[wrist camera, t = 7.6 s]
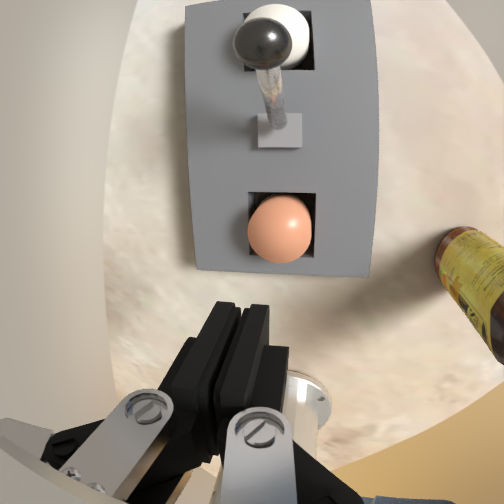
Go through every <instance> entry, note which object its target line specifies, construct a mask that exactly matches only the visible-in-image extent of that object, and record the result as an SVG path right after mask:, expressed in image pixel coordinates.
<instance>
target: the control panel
mask: <svg viewBox="0 0 504 504" xmlns="http://www.w3.org/2000/svg"><path fill="white" fill-rule="evenodd" d="M269 4H282V5H286V6H289V7H292V8H294V9H296V10H297V11H298V12H300V13H301V14H302V15H303V16H304V18H305V19H306V21H307V23H308V24H311V30H312V46H313V65H314V70H281V77H282V83H283V91H284V98H285V105H286V113H287V121H288V122H287V125H286V127H285V128H284V129H282V130H274V129H273V128H271V127H270V125H269V122H268V118H267V113H266V109H265V105H264V101H263V97H262V93H261V89H260V85H259V81H258V77H257V74H256V71H251V68H250V67H248V66H246V65H244V64H243V63H242V62H241V61H240V60H239V59H238V58H237V56H236V54H235V52H234V49H233V38H234V35H235V32H236V31H237V29H238V28H239V27H240V26H241V25H242V24H243V23H244V21H245V19H246V18H247V17H248V15H249V14H250V13H252V12H253V11H254V10H256V9H257V8H259V7H262V6H265V5H269ZM185 103H186V131H187V152H188V170H189V185H190V199H191V212H192V225H193V236H194V247H195V257H196V267H197V270H209V271H227V272H246V273H267V274H288V275H312V276H338V277H369V270H370V262H371V254H372V245H373V235H374V225H375V213H376V200H377V184H378V161H379V95H378V72H377V57H376V45H375V35H374V25H373V17H372V9H371V2H370V0H219V1H212V2H206V3H200V4H195V5H189V6H185ZM254 192H294V193H315V214H314V241H313V244H309V246H308V248H307V250H306V251H305V252H304V254H303V255H302V256H300V257H299V258H297V259H296V260H294V261H291V262H288V263H274V262H270V261H267V260H265V259H263V258H262V257H260V256H259V255H258V254H257V253H256V252H255V251H254V250H253V248H252V247H251V245H250V242H249V239H248V224H249V221H250V219H251V217H252V216H253V214H254V213H255V197H254Z"/></svg>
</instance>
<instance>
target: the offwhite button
mask: <svg viewBox="0 0 504 504" xmlns="http://www.w3.org/2000/svg"><path fill="white" fill-rule="evenodd" d="M258 17H266V18H271V19H274V20H276V21H278V22H280V23H281V24H283V25H284V26H285V27H286V28H287V30H288V31H289V33H290V35H291V38H292V50H291V53H290V55H289V57H288V58H287V60H286V61H285V62H284V63H283V64H281V65H280V70H289V69H292V68H294V67H296V66H298V65H299V64H300V63H302V62H303V60H304V59H305V58H306V56H307V54H308V51H309V26H308V23H307V21H306V19H305V18H304V16H303V15H302V14H301V13H300V12H298V11H297V10H296V9H294V8H292V7H289V6H286V5H282V4H269V5H265V6H262V7H259V8H257V9H256V10H254V11H253V12H252V13H250V14H249V15H248V17H247V18H246V19H245V21H244V23H245V22H246V21H248V20H250V19H253V18H258Z"/></svg>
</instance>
